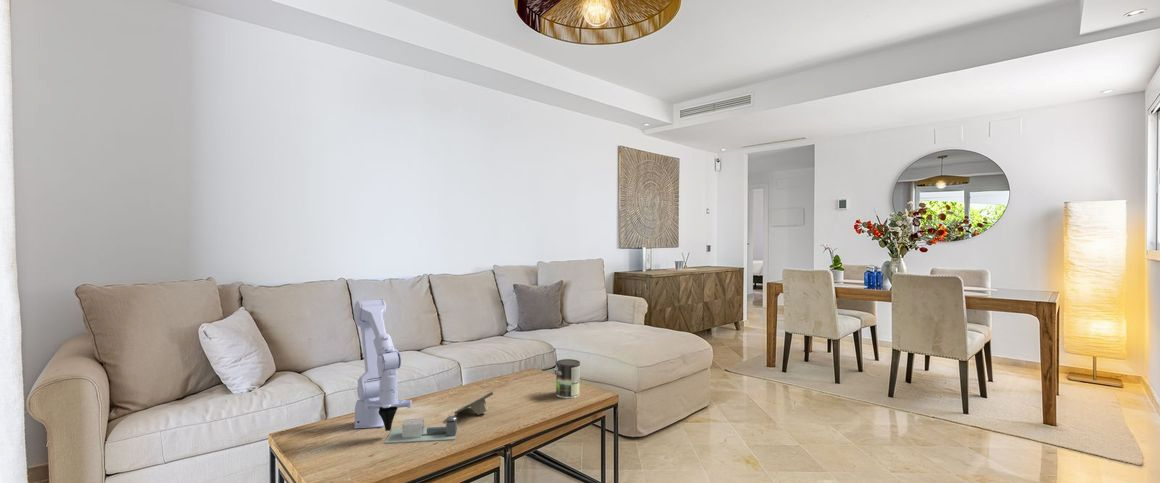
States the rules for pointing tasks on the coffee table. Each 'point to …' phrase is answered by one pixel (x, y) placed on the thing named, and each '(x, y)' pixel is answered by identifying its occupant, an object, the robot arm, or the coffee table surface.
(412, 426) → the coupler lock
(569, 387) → the coffee can
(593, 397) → the coffee table surface
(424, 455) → the coffee table surface
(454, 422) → the coupler
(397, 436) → the mat
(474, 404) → the grey slanted panel
